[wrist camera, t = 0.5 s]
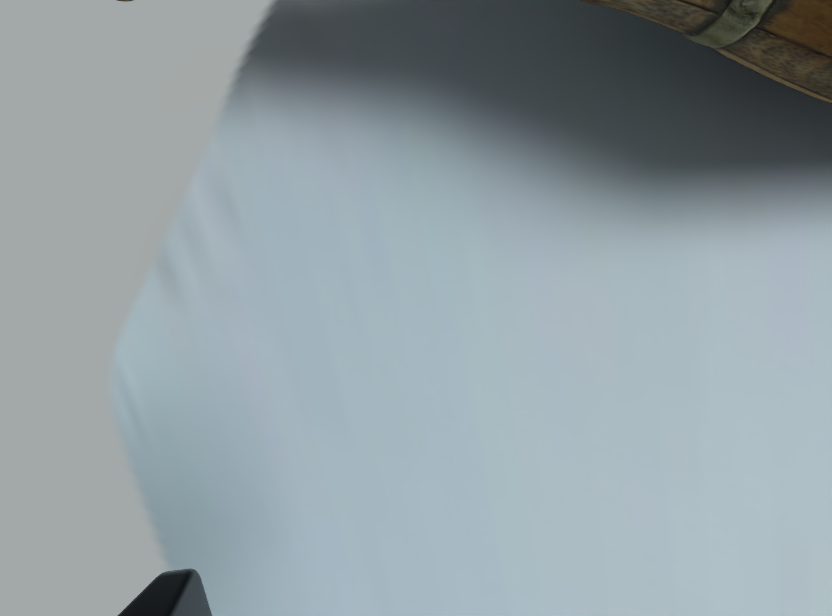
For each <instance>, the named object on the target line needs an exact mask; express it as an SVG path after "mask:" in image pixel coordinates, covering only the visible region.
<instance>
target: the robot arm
mask: <svg viewBox="0 0 832 616" xmlns="http://www.w3.org/2000/svg"><path fill="white" fill-rule="evenodd" d="M118 616H212V614H211V611H210V607H209V604H208V601H207V597H206V594H205V591H204V587H203V584H202V581H201V578H200V575H199V574H198V572H197V571H196V570H194V569H183V570H175V571H167V572H164V573H162V574H160V575H159V576H158V577H156V578H155V579H154V580H153V581H152V582H151V583H150V584H149V585H148V586H147V587H146V588H145V589H144V590H143V591H142V592H141V593H140V594H139V595H138V596H137V597H136V598H135V599H134V600H133V601H132V602H131V603H130V604H129V605H128V606H127V607H126V608H125V609H124V610H123V611H122V612H121V613H120V614H119V615H118Z"/></svg>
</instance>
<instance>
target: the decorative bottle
mask: <svg viewBox="0 0 832 616" xmlns="http://www.w3.org/2000/svg"><path fill="white" fill-rule="evenodd" d="M118 1H132V0H118ZM582 1H585V2H588V3H592V4H597V5H603V6H607V7H611V8H615V9H619V10H622V11H625V12H628V13H631V14H633V15H636V16H639V17H642V18H645V19H648V20H650V21H653V22H656V23H659V24H662V25H664V26H666V27H668V28H671V29H674V30H676V31H678V32H679V33H681V34H682V35H683V36H684V37H686V38H687V39H689V40H690V41H692V42H695V43H698V44H701V45H705V46H709V47H711V48H713V49H714V50H716V51H718V52H719V53H721V54H723V55H724V56H726V57H728V58H731V59H733V60H735V61H737V62H738V63H740V64H742V65H744V66H746V67H748V68H750V69H752V70H754V71H756V72H758V73H760V74H762V75H764V76H766V77H769V78H771V79H773V80H775V81H778V82H780V83H782V84H784V85H787V86H789V87H791V88H793V89H796V90H798V91H801V92H803V93H806V94H808V95H810V96H812V97H815V98H817V99H820V100H823V101H826V102H829V103H832V0H582Z"/></svg>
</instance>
